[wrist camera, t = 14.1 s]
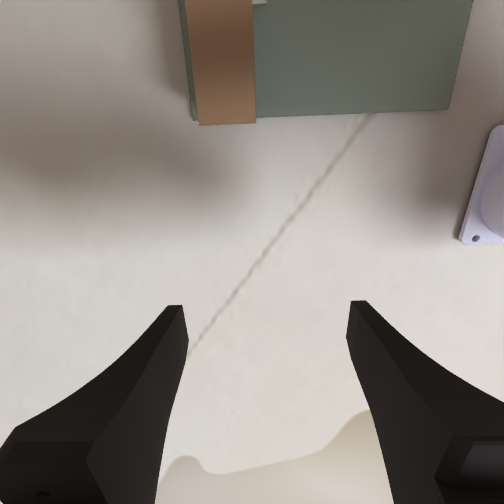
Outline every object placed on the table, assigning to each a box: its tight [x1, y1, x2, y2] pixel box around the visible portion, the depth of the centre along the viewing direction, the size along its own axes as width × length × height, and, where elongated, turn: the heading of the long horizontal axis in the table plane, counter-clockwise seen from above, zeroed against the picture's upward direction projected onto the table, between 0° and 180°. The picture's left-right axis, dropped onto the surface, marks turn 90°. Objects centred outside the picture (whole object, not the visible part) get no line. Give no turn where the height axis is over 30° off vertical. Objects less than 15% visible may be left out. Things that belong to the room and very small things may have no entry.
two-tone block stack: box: [185, 0, 266, 125], centre depth 15 cm, size 9×4×5 cm, turn 2°
